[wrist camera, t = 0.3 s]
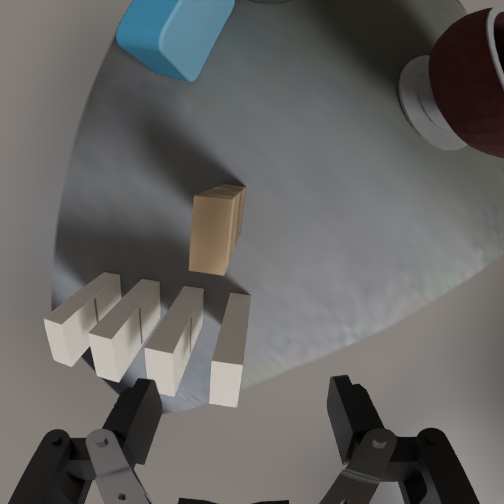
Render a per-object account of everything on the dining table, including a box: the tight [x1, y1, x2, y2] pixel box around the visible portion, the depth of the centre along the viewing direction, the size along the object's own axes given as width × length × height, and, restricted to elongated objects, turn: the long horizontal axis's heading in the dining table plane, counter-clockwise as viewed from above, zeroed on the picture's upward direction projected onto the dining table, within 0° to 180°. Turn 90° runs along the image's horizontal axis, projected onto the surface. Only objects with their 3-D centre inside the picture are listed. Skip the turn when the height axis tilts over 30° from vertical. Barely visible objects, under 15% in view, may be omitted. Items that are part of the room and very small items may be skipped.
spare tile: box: [189, 184, 246, 276], centre depth 25 cm, size 2×5×13 cm, turn 173°
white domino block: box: [88, 279, 160, 383], centre depth 28 cm, size 2×5×13 cm, turn 173°
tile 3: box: [145, 286, 204, 397], centre depth 28 cm, size 2×5×13 cm, turn 173°
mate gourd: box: [399, 5, 504, 158], centre depth 16 cm, size 16×14×20 cm
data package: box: [116, 0, 235, 82], centre depth 20 cm, size 12×4×12 cm, turn 158°
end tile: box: [44, 272, 121, 367], centre depth 28 cm, size 2×5×13 cm, turn 173°
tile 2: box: [209, 293, 251, 407], centre depth 28 cm, size 2×5×13 cm, turn 173°
